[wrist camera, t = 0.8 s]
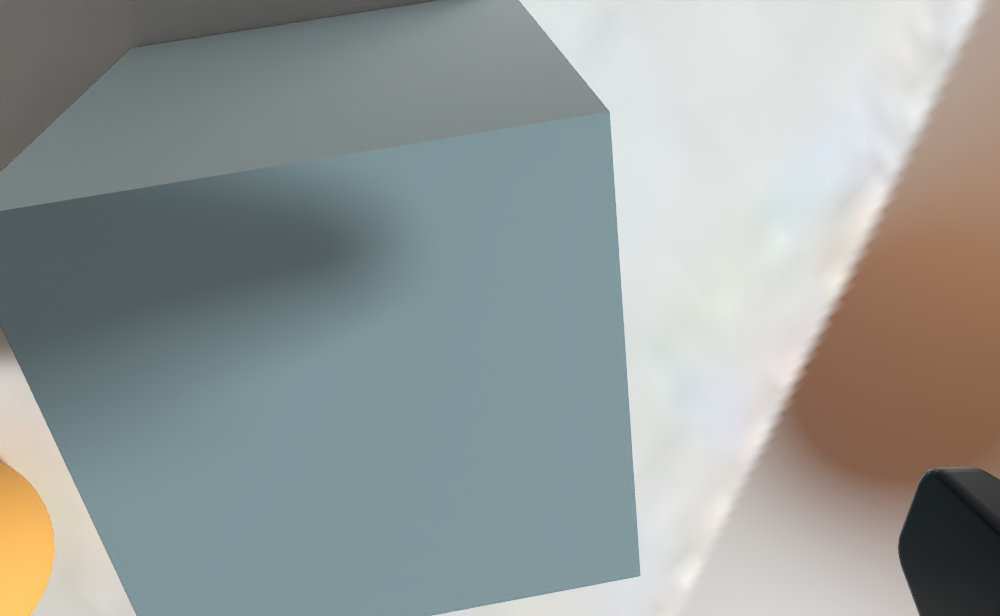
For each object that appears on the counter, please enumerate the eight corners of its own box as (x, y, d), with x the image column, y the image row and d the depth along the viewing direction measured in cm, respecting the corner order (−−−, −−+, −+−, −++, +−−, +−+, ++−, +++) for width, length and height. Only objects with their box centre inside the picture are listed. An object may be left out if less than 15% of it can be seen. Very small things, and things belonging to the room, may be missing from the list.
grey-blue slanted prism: (235, 366, 22) (160, 666, 14) (131, 47, 18) (-49, 219, 10) (546, 312, 22) (640, 575, 14) (509, -11, 18) (609, 112, 11)
